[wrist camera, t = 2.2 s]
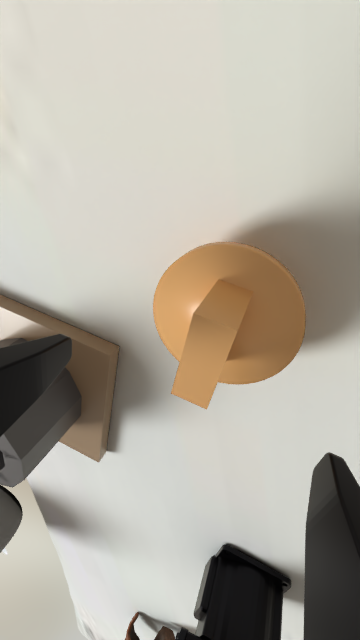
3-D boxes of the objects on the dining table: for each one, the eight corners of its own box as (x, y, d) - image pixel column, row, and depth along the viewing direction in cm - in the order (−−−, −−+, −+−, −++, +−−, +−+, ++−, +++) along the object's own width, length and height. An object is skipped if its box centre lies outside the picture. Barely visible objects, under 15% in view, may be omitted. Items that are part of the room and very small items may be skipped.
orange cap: (332, 259, 14) (349, 321, 8) (273, 372, 17) (259, 462, 12) (189, 214, 15) (127, 243, 10) (163, 328, 19) (109, 392, 14)
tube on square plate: (119, 346, 21) (45, 420, 15) (106, 451, 28) (52, 530, 22) (-23, 284, 23) (-134, 327, 17) (-3, 395, 30) (-77, 452, 24)
